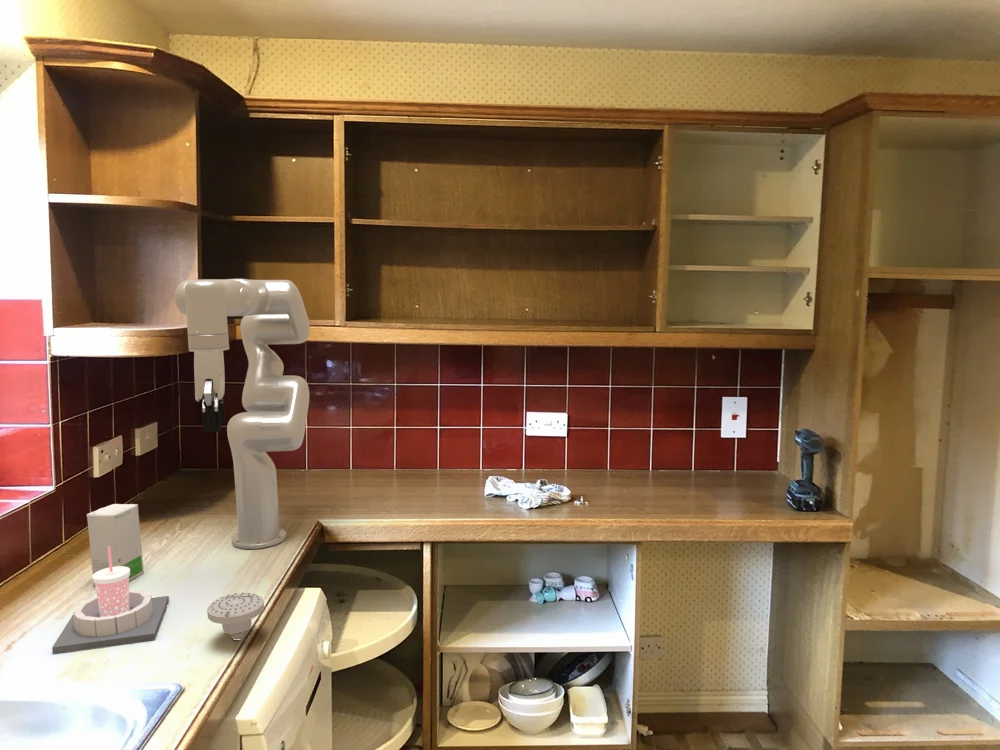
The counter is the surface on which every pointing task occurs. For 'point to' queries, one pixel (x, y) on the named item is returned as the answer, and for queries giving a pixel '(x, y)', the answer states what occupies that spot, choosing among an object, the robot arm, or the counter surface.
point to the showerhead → (235, 612)
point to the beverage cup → (112, 589)
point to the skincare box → (116, 538)
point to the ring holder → (112, 624)
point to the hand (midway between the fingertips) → (214, 426)
